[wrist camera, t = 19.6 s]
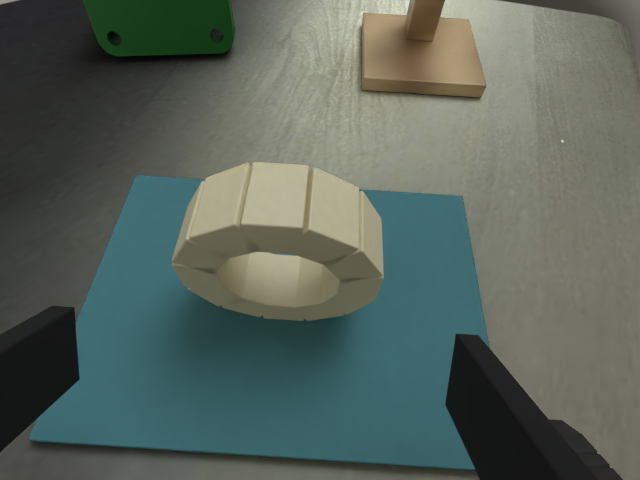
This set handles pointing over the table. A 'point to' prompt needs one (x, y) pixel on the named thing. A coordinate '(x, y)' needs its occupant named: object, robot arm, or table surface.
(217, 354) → the mat
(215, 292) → the segmented ring
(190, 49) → the clamp
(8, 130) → the table surface
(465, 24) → the hook stand
